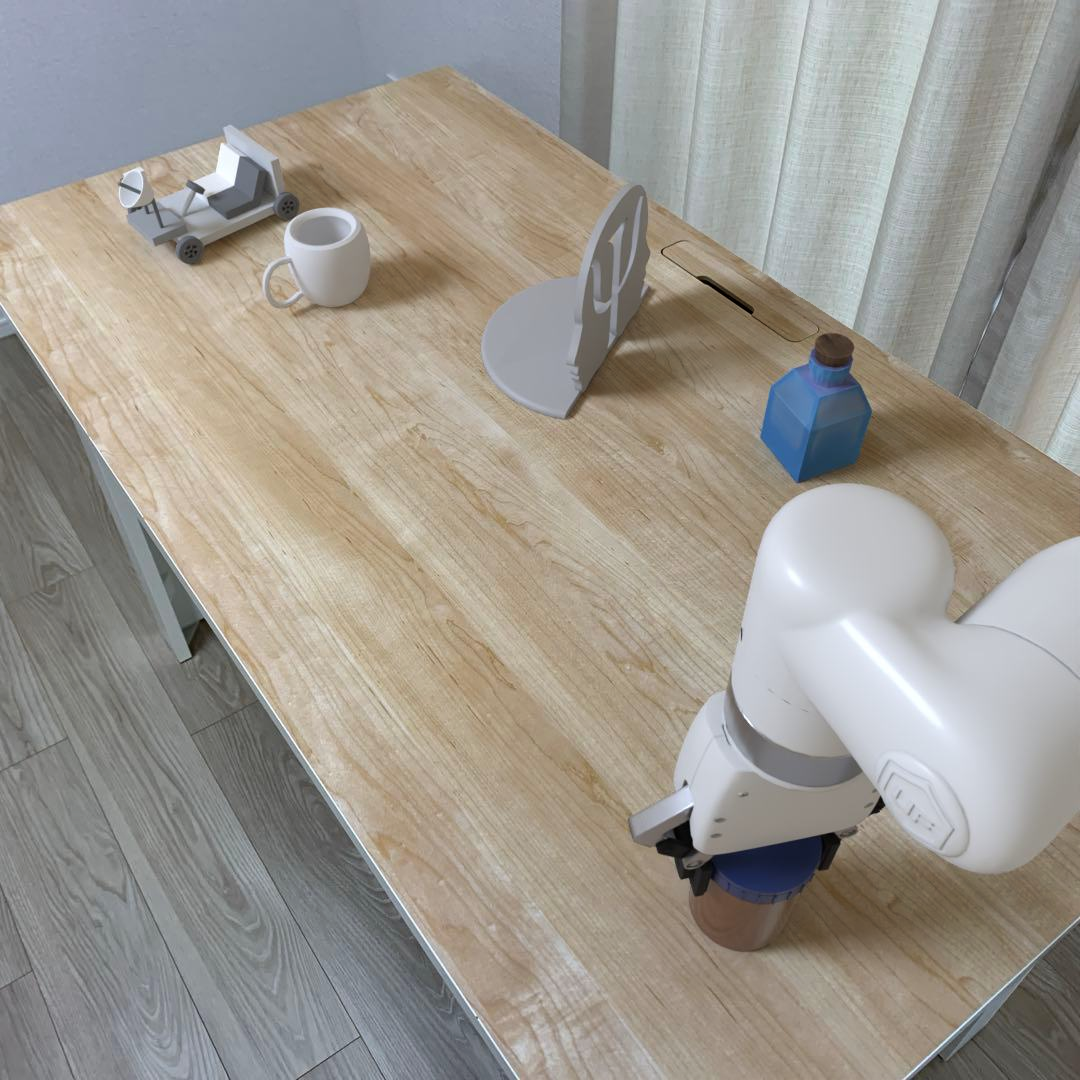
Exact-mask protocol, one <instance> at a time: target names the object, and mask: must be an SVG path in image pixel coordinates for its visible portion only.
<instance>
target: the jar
mask: <svg viewBox="0 0 1080 1080" xmlns="http://www.w3.org/2000/svg"><path fill="white" fill-rule="evenodd" d="M800 894H801V893H800V892H799V893H798V894H797V895H795V896H794V897H792V898H790V899H789V901H787V900H785V901H782V902H778V903H774V905H772V904H759V903H758V905H756V903H753V902H748V901H745V900H740V899H739V898H738V897H735V896H733V895H732V894H730V893H728V892H727V893H726V892H725V890H724V889H723V888H722V887H721V886H719V885H718V884H717V883H716V882H715V881H713V878H712V877H711V878H710V881H709V885H708V888H707V892H705V893H704V895H702V896H697V897H695V896H694V894H693V891H692V888H691V885H690V886H689V892H688V903H689V908H690V912H691V916H692V918H693V920H694V922H695V924H696V925H697V927H698V928H699V930H700V931H701V932H702V934H704V936H705V937H707V938H708V939H709V940H710V941H712V942H713V943H715V944H716V945H718V946H720V947H722V948H724V949H727V950H731V951H735V952H742V953H743V952H754V951H757V950H761V949H763V948H766V947H767V946H769V945H771V944H772V943H774V942H775V941H776V940H777V939H778V938H779V936H780V935H781V934H782V933H783V931H784V929H785V927H786V925H787V922H788V920H789V918H790V916H791V914H792V912H793V910H794V907H795V906H796V903H797V900H798V899H799V897H800Z"/></svg>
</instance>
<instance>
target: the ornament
mask: <svg viewBox="0 0 1080 1080" xmlns="http://www.w3.org/2000/svg"><path fill="white" fill-rule="evenodd" d="M647 195H648V194H647V192H646V190H645V187H643V185H641V184H638V183H634V182H629V183H626V184H624V185H623V186H622V187H621V188H619V190H618V191H617V192H616V193H615V194H614V195H613V196H612V198H611V199H610V200H609V202H608V203H607V205H606V207H605V208H604V209H603V211H602V212H601V214H600V215H599V218H598V220H597V222H596V223H595V225H594V228H593V230H592V232H591V235H590V236H589V239H588V242H587V245H586V248H585V251H584V254H583V258H582V261H581V265H580V269H579V273H578V274H577V275H569V276H562V277H557V278H552V279H549V280H545V281H542V282H539V283H536V284H533V285H531V286H528V287H526V288H524V289H522V290H520V291H519V292H517V293H515V294H514V295H512V296H511V297H509V298H507V299H506V300H505V301H504V302H502V304H501V305H500V306H499V307H498V308H497V309H496V310H495V311H494V312H493V313H492V315H491V316H490V318H489V319H488V321H487V323H486V324H485V327H484V328H483V332H482V335H481V340H480V356H481V360H482V365H483V367H484V369H485V372H486V373H487V375H488V377H489V379H490V380H491V381H492V382H493V384H494V385H495V386H496V387H497V388H498V389H499V390H500V391H501V392H502V393H503V394H505V395H506V396H507V397H508V398H510V399H511V400H512V401H514V402H516V403H518V404H519V405H521V406H523V407H525V408H527V409H529V410H530V411H531V410H532V411H534V412H536V413H539V414H542V415H545V416H549V417H550V418H551V417H552V418H555V419H561V420H566V418H567V417H568V415H569V414H570V412H571V411H572V409H573V408H574V406H575V405H576V403H577V402H578V400H579V399H580V397H581V396H582V394H583V393H584V392H585V391H586V390H587V388H588V386H589V384H590V382H591V380H592V378H593V377H594V376H595V374H596V373H597V371H598V370H599V368H600V367H601V366H602V364H603V363H604V361H605V359H606V357H607V356H608V355H609V352H610V351H611V349H612V348H613V347H614V345H615V343H616V342H617V341H618V338H619V337H620V336H622V334H623V333H624V331H625V329H626V327H627V326H628V324H629V322H630V321H631V319H632V318H633V317H634V316H635V315H636V314H637V312H638V311H639V308H640V305H641V303H642V302H643V300H644V299H645V297H646V296H647V294H648V293H649V292H650V290H651V287H650V285H647V284H645V278H646V276H647V270H646V268H647V265H648V263H649V260H650V257H651V250H650V248H649V244H648V240H647V233H648V227H649V226H648V225H649V204H648V196H647ZM612 238H613V241H612V242H611V241H610V240H611V239H612Z"/></svg>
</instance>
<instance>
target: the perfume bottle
mask: <svg viewBox="0 0 1080 1080" xmlns="http://www.w3.org/2000/svg"><path fill="white" fill-rule="evenodd" d="M854 350H855V342H853V341H852V339H850V338H849V337H848V336H846V335H844V334H841V333H837V332H827V333H823V334H819V335H818V337H816V339H815V341H814V347H813V348H812V349H811V351H810V353H809V359H808V362H807V364H803V365H800V366H796V367H793V368H792V369H791V370H789V371H788V372H787V373H786V374H784V375H783V376H781V377H780V378H779V379H778V380H776V381H775V382H774V383H773V384H771V385H770V388H769V391H768V397H767V401H766V407H765V411H764V416H763V421H762V426H761V431H760V436H759V438H760V439H761V441H762V442H763V443H764V444H765V446H766V447H767V448H768V449H769V451H770V452H771V453H772V454H773V455H774V457H775V458H776V459H777V461H778V462H779V463H780V464H781V465H782V467H783V468H784V469H785V470H786V472H787V473H788V474H789V476H791V478H792V479H793V480H794V481H795V483H796V484H799V483H801V482H803V481H806V480H810V479H813V478H815V477H818V476H821V475H824V474H826V473H829V472H833V471H836V470H838V469H841V468H844V467H846V466H850V465H853V464H855V463H857V462H858V459H859V455H860V453H861V449H862V446H863V443H864V439H865V436H866V433H867V431H868V426H869V423H870V421H871V417H872V414H873V408H872V406H871V405H870V402H869V400H868V398H867V395H866V393H865V391H864V389H863V386H862V385H861V384H862V383H860V382H859V381H858V380H857V379H856V378H855V377H854V376H853V374H851V372H850V371H851V368H852V365H853V361H854V357H853V353H854Z"/></svg>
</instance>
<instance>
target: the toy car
mask: <svg viewBox="0 0 1080 1080" xmlns="http://www.w3.org/2000/svg"><path fill="white" fill-rule="evenodd" d="M222 130H223V134H224V137H225V140H226V142H220V146H219V152H218V157H217V163H216V168H215V171H214V172H212V173H210V174H206V175H204V176H203V177H199V178H198V179H194V180H193V181H192V180H190V179H188V180H187V181H186V184H185V188H183V189H180V190H178V191H175V192H173V193H171V194H168V195H165V196H163V197H161V198H158V199H155V194H154V193H155V192H154V190H153V187H152V185H151V184H150V182H149V181H148V177H147V174H146V170H145V169H144V168H142V167H141V166H138V167H136V168H133V169H131V170H128V171H125V172H123V173H122V176H123V177H122V178H120V179H119V181H118V183H117V186H119V190H118V199H119V203H120V204H121V206H122V207H123V208H125V209H127V213H128V214H126V215H125V218H126V220H127V223H128V225H130V226H131V227H132V228H133V229H134V230H135V231H137V232H138V233H139V234H140V235H141V236H142V237H144V239H146V240H147V241H148V242H149V243H150V244H151V245H153V246H154V247H158V246H160V245H162V244H164V243H166V242H169V241H171V240H173V241H174V242H175V243H176V245H175V249H174V252H175V255H176V257H177V259H178V260H180V261H181V263H183V264H185V265H194V264H196V263H197V262H199V261H200V260H201V259H202V257H203V256H204V252H205V246H206V245H209V244H211V243H213V242H216V241H218V240H220V239H222V238H224V237H226V236H229V235H231V234H233V233H235V232H238V231H240V230H241V229H244V228H246V227H248V226H250V225H253V224H255V223H257V222H259V221H262V220H263V219H265V218H268V217H270V216H273V215H276V216H277V217H279V218H280V220H284V221H288V220H292V219H294V218H295V217H296V215H297V214H298V213H299V211H300V206H301V205H300V204H301V203H300V200H299V198H298V196H296V195H295V194H293V192H290V191H287V190H286V185H285V181H284V180H285V179H284V177H283V172H282V168H281V162H280V158H279V157H278V156H276V155H274V153H272V152H271V151H269V150H267V149H266V148H265V147H264V146H262V145H261V144H259V143H258V142H256V141H255V140H253V139H252V138H251V137H249V136H248V135H246V134H245V133H243V132H242V131H241V130H239V129H238V128H237V127H235V126H234V125H232V124H228V125H225V126H224V127H222Z"/></svg>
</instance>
